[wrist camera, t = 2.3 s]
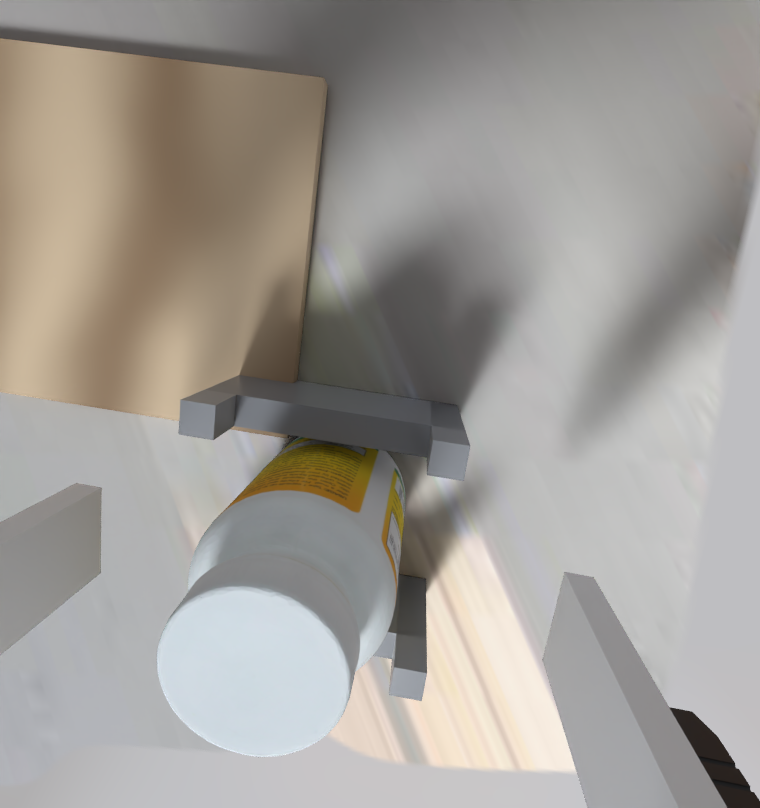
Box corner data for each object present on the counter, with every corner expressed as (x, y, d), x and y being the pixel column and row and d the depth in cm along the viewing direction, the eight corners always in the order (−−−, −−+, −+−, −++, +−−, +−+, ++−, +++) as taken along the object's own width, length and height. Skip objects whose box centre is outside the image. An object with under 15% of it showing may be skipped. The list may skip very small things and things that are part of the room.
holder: (229, 566, 20) (168, 653, 15) (245, 372, 18) (180, 399, 13) (421, 600, 20) (421, 700, 15) (457, 405, 18) (470, 446, 13)
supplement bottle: (433, 502, 19) (445, 707, 9) (330, 577, 20) (248, 828, 10) (343, 395, 18) (259, 500, 9) (241, 479, 19) (70, 652, 10)
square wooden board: (-5, 386, 19) (-18, 388, 19) (-18, 43, 16) (-35, 34, 16) (291, 434, 19) (287, 438, 18) (327, 85, 16) (323, 77, 15)
